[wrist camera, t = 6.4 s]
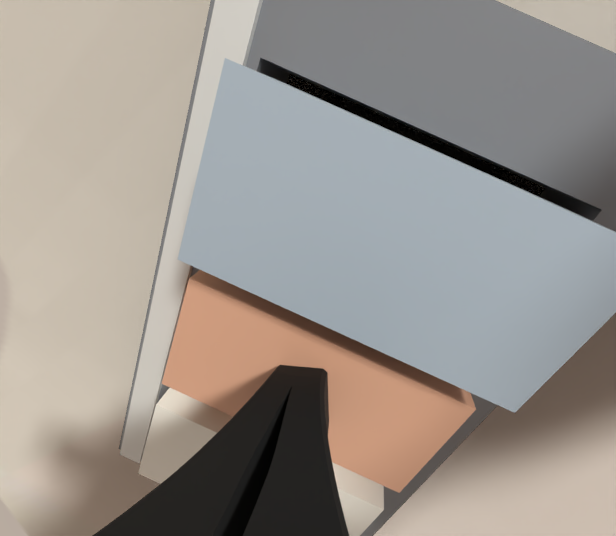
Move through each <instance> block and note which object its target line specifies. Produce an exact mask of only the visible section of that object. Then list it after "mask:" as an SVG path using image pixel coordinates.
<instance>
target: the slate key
mask: <svg viewBox="0 0 616 536" xmlns="http://www.w3.org/2000/svg"><path fill="white" fill-rule="evenodd" d="M178 260H180V261H182V262H184V263H187V264H189V265H191V266H193V267H195V268H198V269H200V270H202V271H204V272H206V273H208V274H211V275H213V276H215V277H217V278H219V279H222V280H224V281H226V282H228V283H230V284H233V285H235V286H237V287H239V288H241V289H244V290H246V291H248V292H250V293H252V294H255V295H257V296H259V297H261V298H263V299H266V300H268V301H270V302H272V303H274V304H277V305H279V306H281V307H283V308H285V309H288V310H290V311H292V312H294V313H296V314H299V315H301V316H303V317H305V318H307V319H310V320H312V321H314V322H316V323H318V324H321V325H323V326H325V327H327V328H329V329H332V330H334V331H336V332H338V333H340V334H343V335H345V336H347V337H349V338H351V339H354V340H356V341H358V342H360V343H362V344H364V345H367V346H369V347H371V348H373V349H375V350H378V351H380V352H382V353H384V354H386V355H389V356H391V357H393V358H395V359H397V360H400V361H402V362H404V363H406V364H408V365H411V366H413V367H415V368H417V369H419V370H422V371H424V372H426V373H428V374H430V375H433V376H435V377H437V378H439V379H441V380H444V381H446V382H448V383H450V384H452V385H455V386H457V387H459V388H461V389H463V390H466V391H468V392H470V393H472V394H474V395H477V396H479V397H481V398H483V399H485V400H488V401H490V402H492V403H494V404H496V405H499V406H501V407H503V408H505V409H507V410H510V411H512V412H514V413H515V412H516V411H517V410H518V409H519V408H520V407H521V406H522V405H523V404H524V403H525V402H526V401H527V400H528V399H529V398H530V397H531V396H532V395H533V394H534V393H535V392H536V391H537V390H538V389H539V388H540V387H541V386H542V385H543V384H544V383H545V382H546V381H547V380H548V379H549V378H550V377H551V376H552V375H553V374H554V373H555V372H556V371H557V370H558V369H559V368H560V367H561V366H563V365H564V364H565V363H566V362H567V361H568V360H569V359H570V358H571V357H572V356H573V355H574V354H575V353H576V352H577V351H578V350H579V349H580V348H581V347H582V346H583V345H584V344H585V343H586V342H587V341H588V340H589V339H590V338H591V337H592V336H593V335H594V334H595V333H596V332H597V331H598V330H599V329H600V328H601V327H602V326H603V325H604V324H605V323H606V322H607V321H608V320H609V319H610V318H611V317H612V316H613V315H614V314H615V313H616V232H615V231H613V230H611V229H609V228H607V227H604V226H602V225H600V224H598V223H596V222H594V221H591V220H589V219H587V218H585V217H583V216H581V215H578V214H576V213H574V212H572V211H570V210H568V209H565V208H563V207H561V206H559V205H557V204H554V203H552V202H550V201H548V200H545V199H543V198H541V197H539V196H536V195H534V194H532V193H530V192H528V191H525V190H523V189H521V188H519V187H516V186H514V185H512V184H510V183H507V182H505V181H503V180H501V179H498V178H496V177H494V176H492V175H489V174H487V173H485V172H483V171H481V170H478V169H476V168H474V167H472V166H469V165H467V164H465V163H463V162H460V161H458V160H456V159H454V158H451V157H449V156H447V155H445V154H443V153H440V152H438V151H436V150H434V149H431V148H429V147H427V146H425V145H422V144H420V143H418V142H416V141H413V140H411V139H409V138H407V137H404V136H402V135H400V134H398V133H396V132H393V131H391V130H389V129H387V128H384V127H382V126H380V125H378V124H375V123H373V122H371V121H369V120H366V119H364V118H362V117H360V116H357V115H355V114H353V113H351V112H349V111H346V110H344V109H342V108H340V107H337V106H335V105H333V104H331V103H328V102H326V101H324V100H322V99H319V98H317V97H315V96H313V95H310V94H308V93H306V92H304V91H302V90H299V89H297V88H295V87H293V86H290V85H288V84H286V83H284V82H281V81H279V80H276V79H274V78H272V77H269V76H267V75H265V74H262V73H260V72H257V71H255V70H253V69H250V68H248V67H246V66H243V65H241V64H238V63H236V62H234V61H231V60H229V59H227V58H225V60H224V64H223V68H222V72H221V76H220V81H219V85H218V89H217V93H216V98H215V102H214V106H213V110H212V115H211V119H210V123H209V127H208V132H207V136H206V140H205V144H204V149H203V153H202V157H201V161H200V165H199V170H198V174H197V178H196V182H195V187H194V191H193V195H192V199H191V204H190V208H189V212H188V216H187V221H186V225H185V229H184V233H183V238H182V242H181V246H180V250H179V255H178Z"/></svg>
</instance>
